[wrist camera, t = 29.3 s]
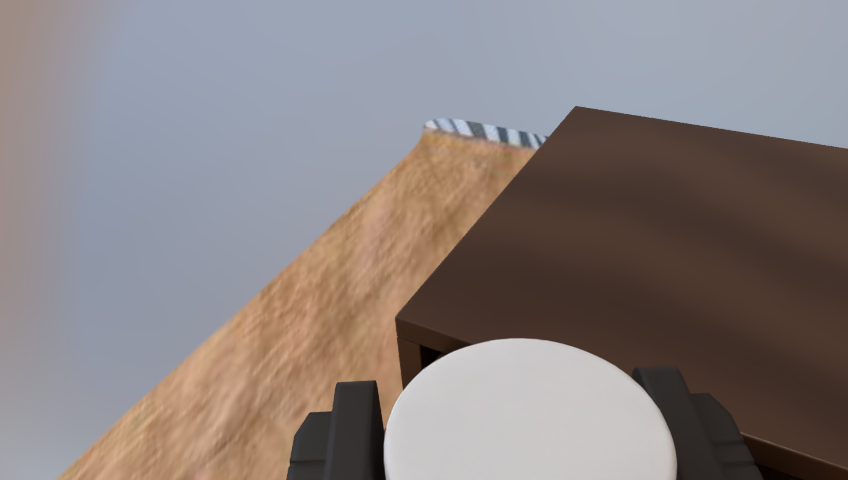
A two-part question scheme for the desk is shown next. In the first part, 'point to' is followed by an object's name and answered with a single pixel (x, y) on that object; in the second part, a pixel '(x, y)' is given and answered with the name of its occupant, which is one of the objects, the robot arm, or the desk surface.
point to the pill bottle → (526, 419)
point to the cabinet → (668, 273)
